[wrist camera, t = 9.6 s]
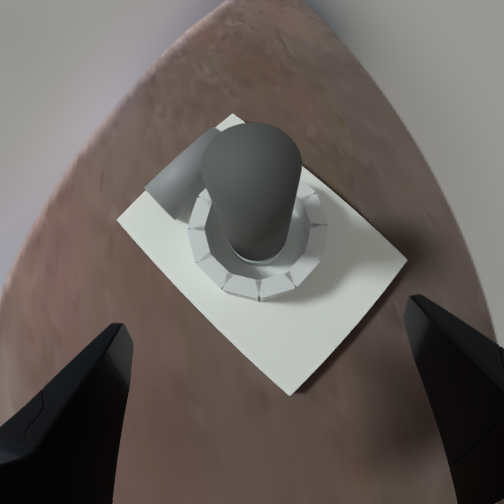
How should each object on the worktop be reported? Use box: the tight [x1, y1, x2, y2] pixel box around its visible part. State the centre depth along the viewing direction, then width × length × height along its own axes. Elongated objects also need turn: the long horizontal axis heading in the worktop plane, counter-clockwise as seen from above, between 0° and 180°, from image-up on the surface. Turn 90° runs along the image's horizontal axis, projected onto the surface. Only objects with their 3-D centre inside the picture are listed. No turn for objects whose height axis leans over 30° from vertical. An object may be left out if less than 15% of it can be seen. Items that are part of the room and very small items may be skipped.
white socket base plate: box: [117, 114, 407, 396], centre depth 20 cm, size 17×12×4 cm
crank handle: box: [201, 122, 302, 266], centre depth 16 cm, size 4×4×10 cm
